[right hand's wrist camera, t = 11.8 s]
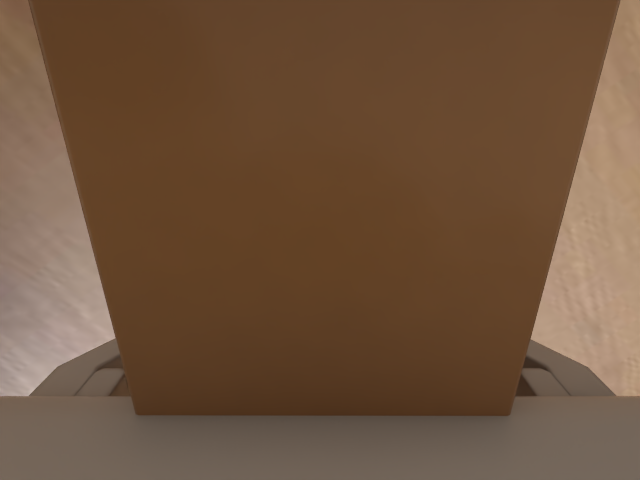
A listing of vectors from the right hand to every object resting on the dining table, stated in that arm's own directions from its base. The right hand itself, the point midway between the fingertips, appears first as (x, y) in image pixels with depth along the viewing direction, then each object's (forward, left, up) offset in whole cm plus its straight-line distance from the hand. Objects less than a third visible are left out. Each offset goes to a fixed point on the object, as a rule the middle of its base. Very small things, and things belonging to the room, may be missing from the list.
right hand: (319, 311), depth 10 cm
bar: (-5, +7, -3) cm, 9 cm away
